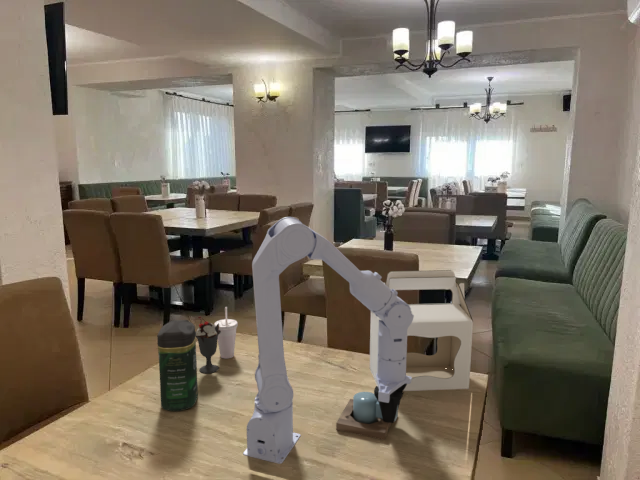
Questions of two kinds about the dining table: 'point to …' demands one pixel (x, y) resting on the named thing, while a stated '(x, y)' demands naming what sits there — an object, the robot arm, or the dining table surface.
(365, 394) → the light blue piece
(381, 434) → the holder
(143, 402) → the dining table surface
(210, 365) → the sundae
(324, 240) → the robot arm
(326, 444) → the dining table surface
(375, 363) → the gable box
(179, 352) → the coffee jar
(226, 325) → the smoothie
